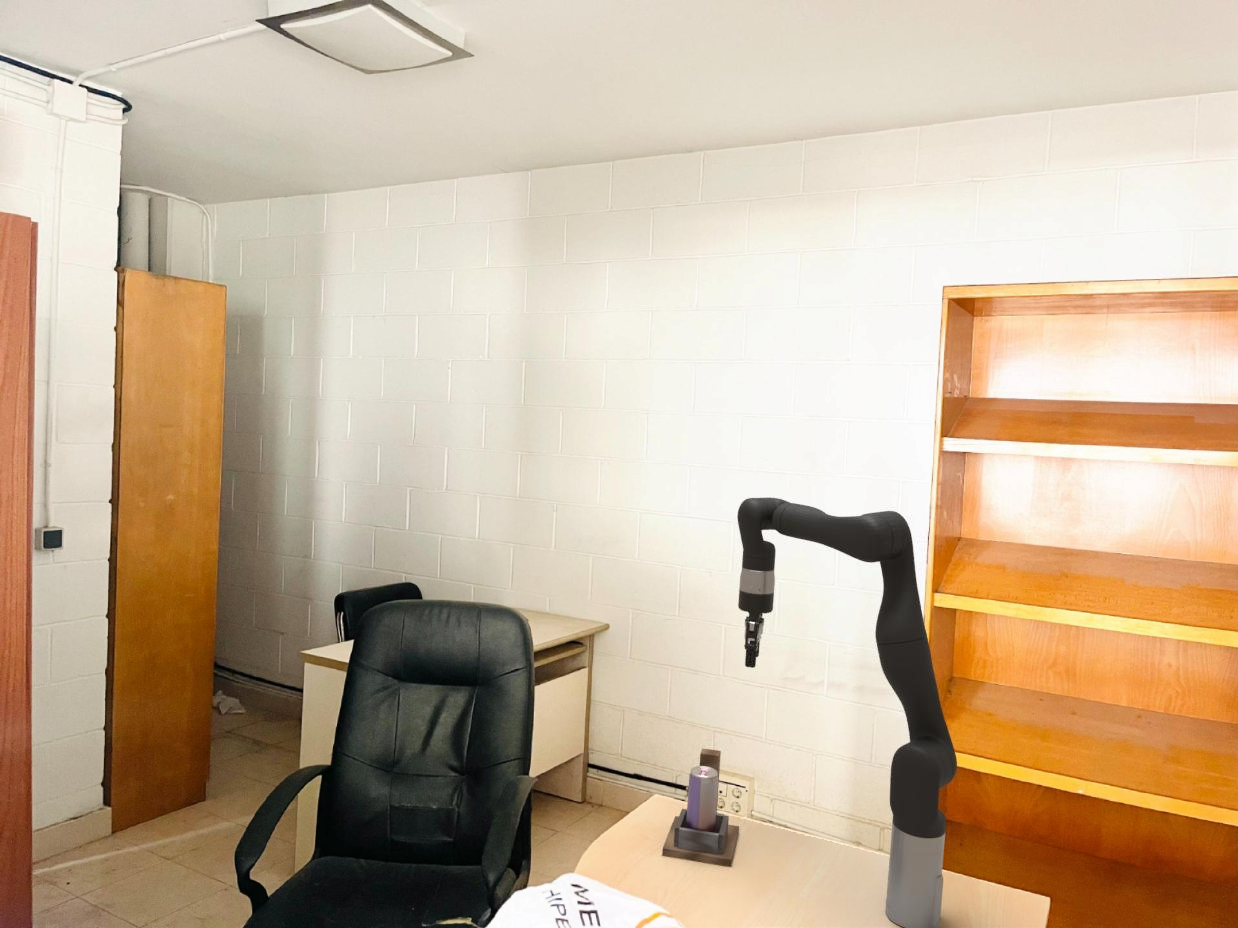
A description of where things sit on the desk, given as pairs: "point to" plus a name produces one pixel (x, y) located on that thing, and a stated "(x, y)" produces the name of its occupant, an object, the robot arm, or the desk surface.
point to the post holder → (703, 843)
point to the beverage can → (702, 799)
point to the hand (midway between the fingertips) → (751, 661)
